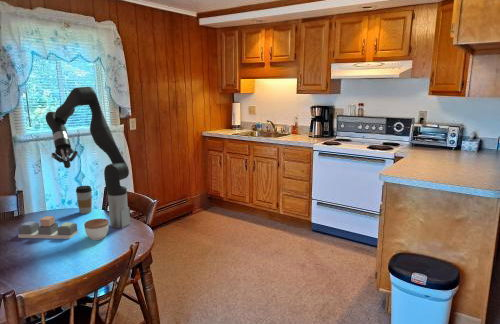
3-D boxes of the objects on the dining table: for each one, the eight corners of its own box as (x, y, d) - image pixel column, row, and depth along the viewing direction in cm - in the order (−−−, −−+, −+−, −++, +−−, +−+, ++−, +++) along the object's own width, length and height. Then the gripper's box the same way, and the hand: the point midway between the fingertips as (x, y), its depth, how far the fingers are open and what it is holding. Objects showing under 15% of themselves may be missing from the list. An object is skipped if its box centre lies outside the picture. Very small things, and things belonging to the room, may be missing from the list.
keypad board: (78, 232, 176) (77, 222, 175) (69, 238, 168) (69, 229, 167) (29, 231, 177) (27, 221, 176) (18, 237, 169) (16, 227, 168)
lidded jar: (100, 243, 164) (99, 224, 162) (80, 241, 166) (78, 222, 164) (114, 234, 174) (112, 216, 172) (94, 232, 176) (93, 214, 175)
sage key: (74, 229, 174) (73, 222, 173) (69, 232, 170) (68, 226, 169) (65, 229, 174) (64, 222, 173) (60, 232, 170) (59, 225, 169)
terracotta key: (54, 223, 174) (54, 216, 173) (49, 226, 169) (48, 219, 169) (46, 223, 174) (45, 216, 173) (40, 226, 169) (39, 219, 169)
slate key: (36, 228, 175) (36, 221, 174) (31, 231, 170) (30, 225, 170) (28, 228, 175) (27, 221, 174) (22, 231, 170) (21, 224, 170)
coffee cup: (89, 214, 201) (87, 189, 198) (74, 214, 201) (72, 189, 198) (96, 209, 209) (94, 185, 206) (82, 209, 210) (79, 185, 207)
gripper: (48, 138, 185) (53, 164, 178) (75, 136, 193) (82, 162, 186) (47, 146, 191) (53, 173, 183) (74, 144, 198) (81, 170, 191)
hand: (67, 167), depth 185 cm, fingers closed
